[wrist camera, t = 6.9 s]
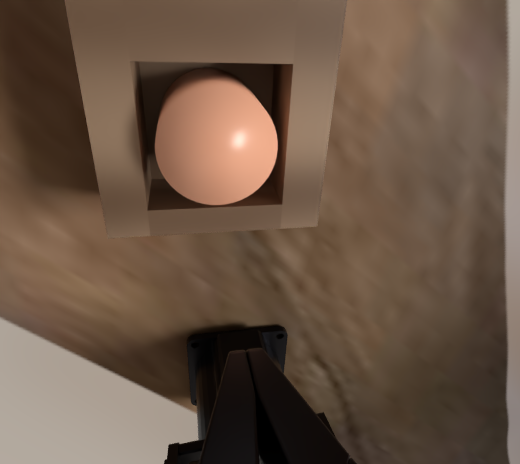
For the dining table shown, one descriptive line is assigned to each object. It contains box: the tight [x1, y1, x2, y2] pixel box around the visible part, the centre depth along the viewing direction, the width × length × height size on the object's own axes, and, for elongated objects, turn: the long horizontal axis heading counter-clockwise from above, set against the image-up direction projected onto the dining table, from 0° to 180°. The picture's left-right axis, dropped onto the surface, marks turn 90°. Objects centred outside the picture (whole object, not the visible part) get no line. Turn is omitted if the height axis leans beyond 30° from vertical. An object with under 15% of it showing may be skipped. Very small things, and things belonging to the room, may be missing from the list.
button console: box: [64, 0, 347, 238], centre depth 15 cm, size 16×9×4 cm, turn 178°
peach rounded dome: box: [155, 68, 278, 205], centre depth 16 cm, size 4×4×4 cm
